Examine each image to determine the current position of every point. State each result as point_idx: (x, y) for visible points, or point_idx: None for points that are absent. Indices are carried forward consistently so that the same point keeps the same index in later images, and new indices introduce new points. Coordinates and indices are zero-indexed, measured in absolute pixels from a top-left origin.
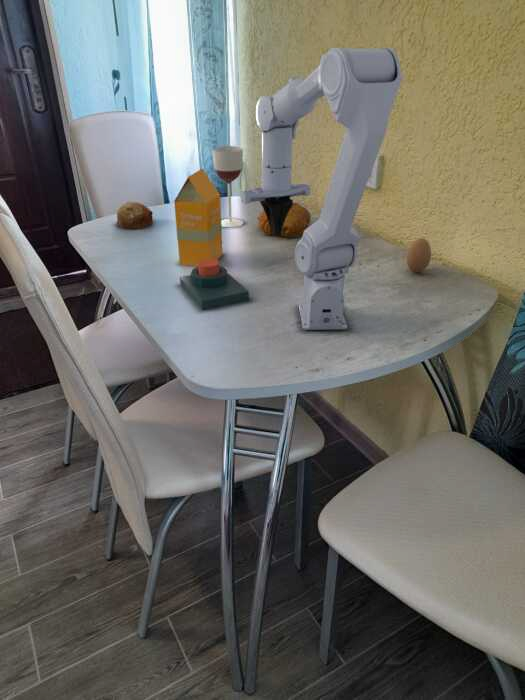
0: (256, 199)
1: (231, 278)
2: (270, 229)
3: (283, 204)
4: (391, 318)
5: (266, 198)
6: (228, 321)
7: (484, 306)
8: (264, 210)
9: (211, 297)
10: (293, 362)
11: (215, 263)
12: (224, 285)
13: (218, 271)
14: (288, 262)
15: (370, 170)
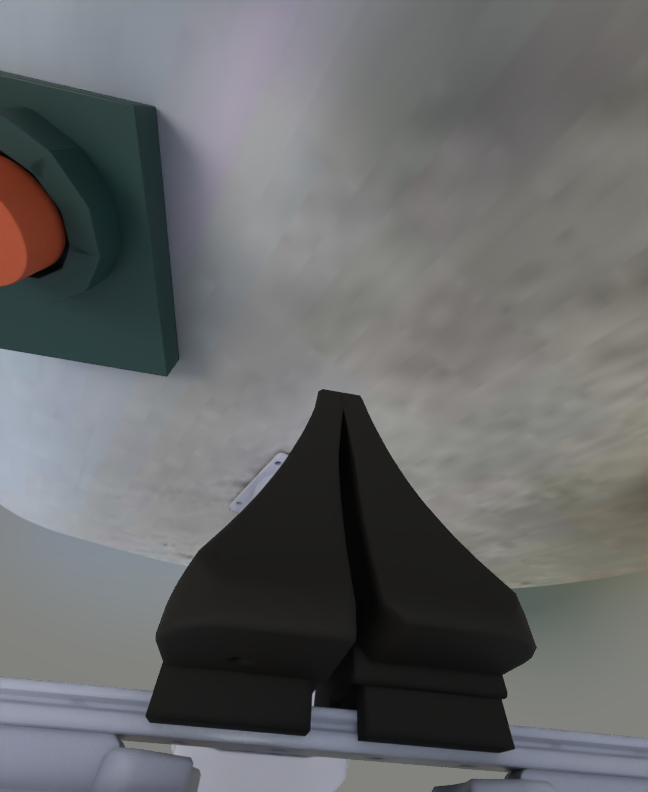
0: (24, 724)
1: (140, 252)
2: (316, 404)
3: (315, 701)
4: None
5: (171, 733)
6: (90, 411)
7: (547, 583)
8: (258, 495)
9: (32, 344)
10: (166, 538)
11: (2, 265)
12: (95, 293)
13: (45, 267)
14: (547, 154)
15: None
